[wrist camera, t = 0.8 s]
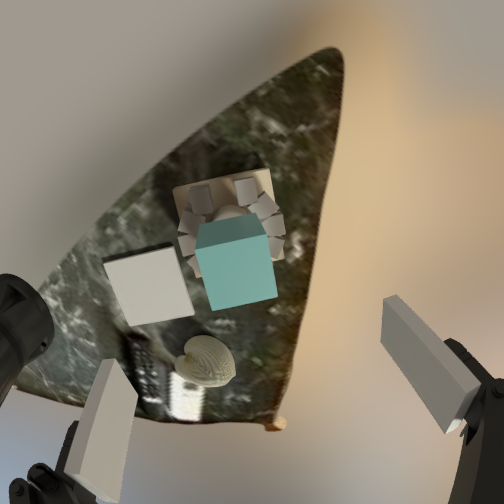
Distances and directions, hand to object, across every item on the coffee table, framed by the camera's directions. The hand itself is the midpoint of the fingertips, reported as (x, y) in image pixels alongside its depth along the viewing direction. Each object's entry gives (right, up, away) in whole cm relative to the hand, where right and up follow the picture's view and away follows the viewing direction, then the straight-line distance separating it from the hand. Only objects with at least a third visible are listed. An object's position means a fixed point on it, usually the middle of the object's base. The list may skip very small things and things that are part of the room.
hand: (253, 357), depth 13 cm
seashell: (-7, -11, +30) cm, 33 cm away
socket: (-3, +9, +23) cm, 24 cm away
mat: (-14, 0, +25) cm, 28 cm away
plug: (-3, +8, +21) cm, 22 cm away
